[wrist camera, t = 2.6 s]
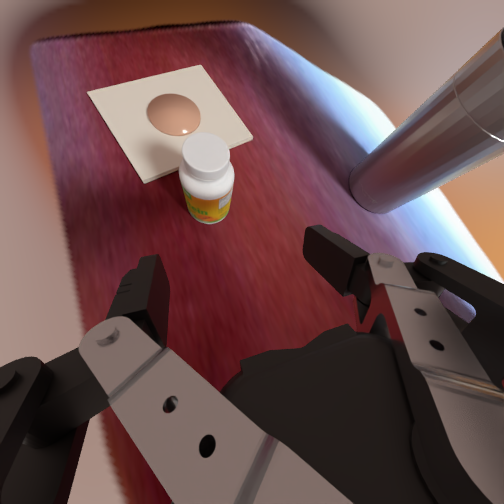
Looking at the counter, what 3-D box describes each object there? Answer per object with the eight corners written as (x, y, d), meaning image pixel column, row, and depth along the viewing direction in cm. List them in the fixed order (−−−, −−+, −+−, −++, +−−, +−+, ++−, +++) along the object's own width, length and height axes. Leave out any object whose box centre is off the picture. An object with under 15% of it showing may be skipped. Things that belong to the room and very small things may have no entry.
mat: (201, 68, 31) (200, 64, 30) (252, 139, 29) (252, 136, 29) (89, 96, 26) (86, 92, 25) (144, 183, 24) (142, 181, 24)
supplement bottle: (178, 207, 24) (157, 150, 15) (205, 180, 26) (200, 114, 17) (212, 233, 24) (211, 191, 15) (237, 204, 26) (250, 150, 17)
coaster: (185, 91, 28) (184, 88, 28) (209, 126, 28) (209, 124, 27) (138, 104, 26) (137, 101, 26) (164, 142, 25) (163, 140, 25)
